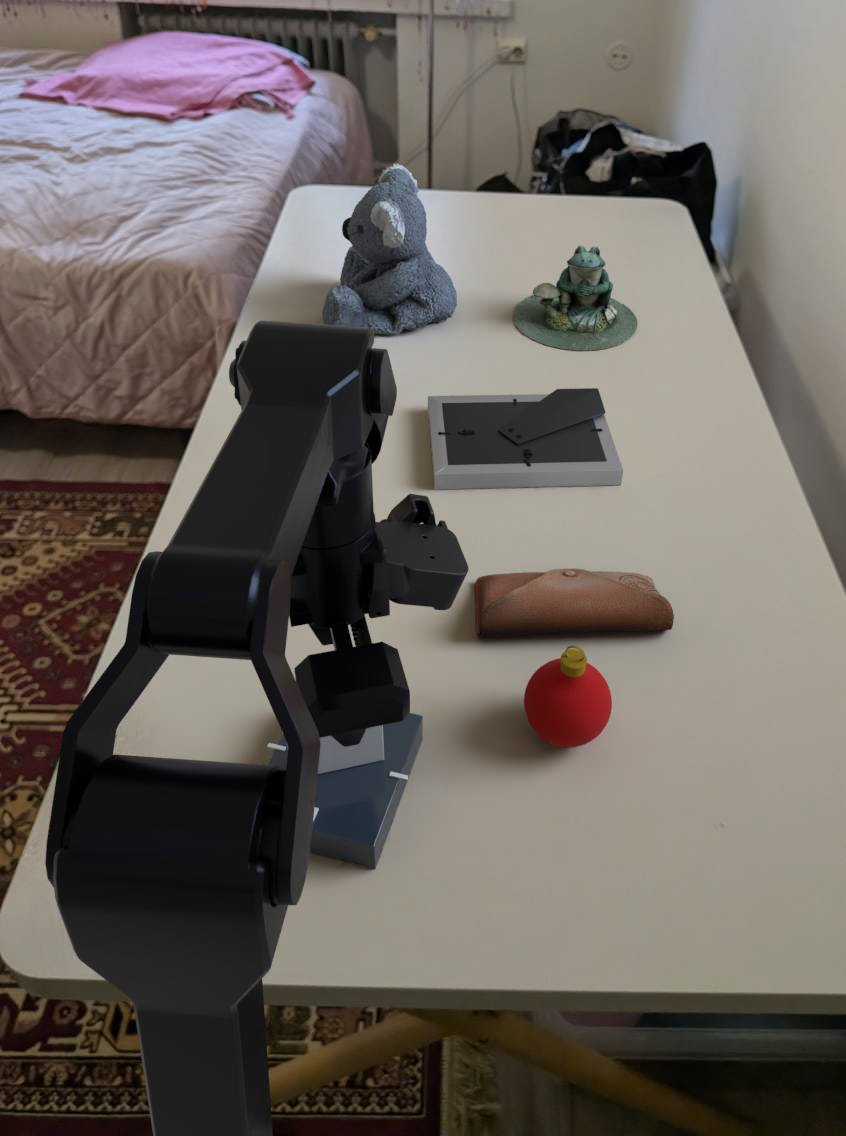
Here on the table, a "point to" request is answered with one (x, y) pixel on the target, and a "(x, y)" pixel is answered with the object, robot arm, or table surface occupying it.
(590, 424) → the picture frame
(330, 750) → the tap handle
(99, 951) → the robot arm
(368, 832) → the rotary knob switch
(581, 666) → the christmas ornament
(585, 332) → the frog figurine
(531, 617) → the sunglasses case
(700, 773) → the table surface
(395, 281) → the koala plush
